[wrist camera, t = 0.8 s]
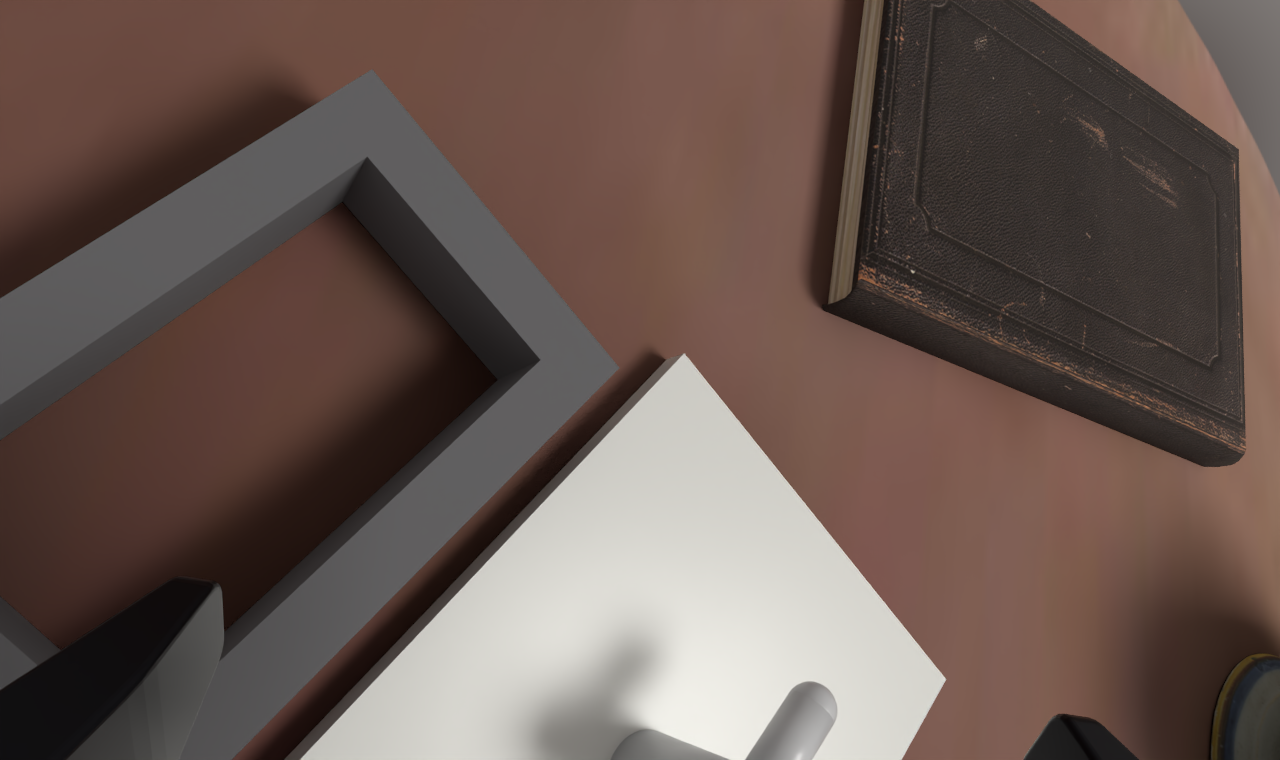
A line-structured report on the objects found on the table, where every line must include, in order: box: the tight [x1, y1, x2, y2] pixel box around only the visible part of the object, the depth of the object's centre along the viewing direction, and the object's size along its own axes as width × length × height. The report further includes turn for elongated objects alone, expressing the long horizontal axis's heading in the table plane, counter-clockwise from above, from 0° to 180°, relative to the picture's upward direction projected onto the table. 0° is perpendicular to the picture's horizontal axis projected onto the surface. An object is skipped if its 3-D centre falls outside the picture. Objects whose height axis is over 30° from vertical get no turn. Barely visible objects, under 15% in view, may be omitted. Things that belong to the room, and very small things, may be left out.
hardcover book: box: [822, 0, 1246, 467], centre depth 36 cm, size 16×23×2 cm
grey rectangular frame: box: [0, 70, 619, 760], centre depth 18 cm, size 14×9×3 cm, turn 135°
